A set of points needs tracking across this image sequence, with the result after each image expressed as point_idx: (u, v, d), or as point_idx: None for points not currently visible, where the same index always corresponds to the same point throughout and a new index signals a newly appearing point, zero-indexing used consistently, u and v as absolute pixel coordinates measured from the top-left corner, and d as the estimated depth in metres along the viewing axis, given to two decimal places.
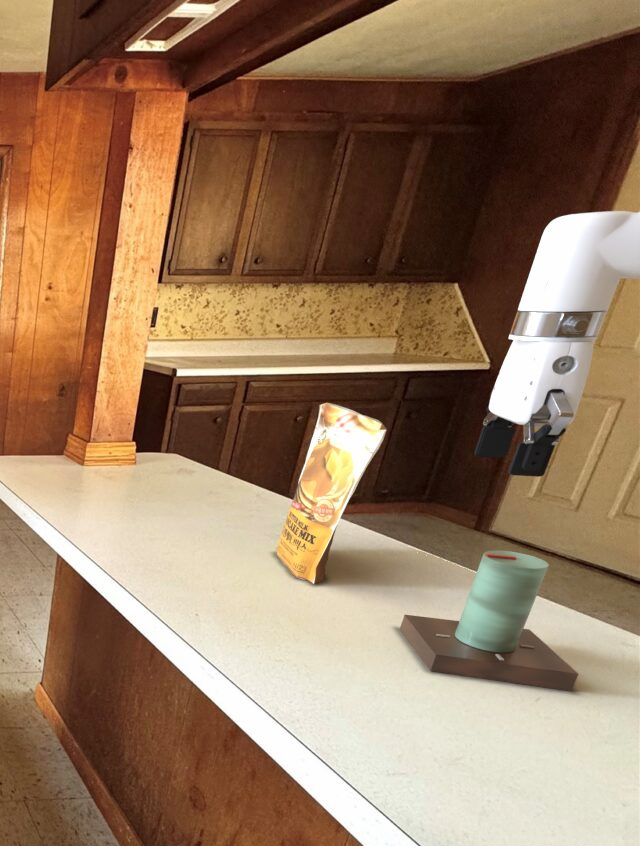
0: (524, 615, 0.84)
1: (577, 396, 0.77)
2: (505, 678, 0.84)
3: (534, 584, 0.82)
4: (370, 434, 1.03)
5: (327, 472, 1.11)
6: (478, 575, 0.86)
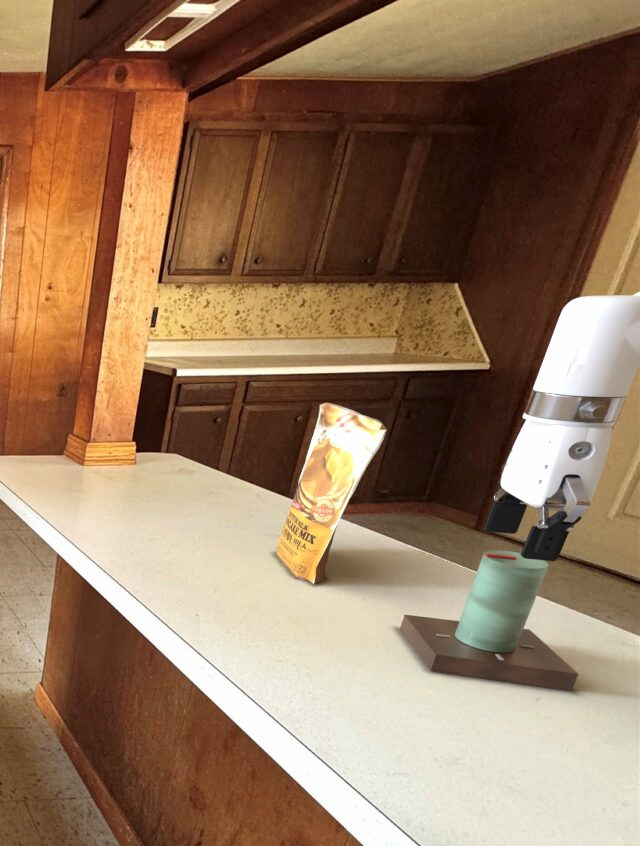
0: (524, 615, 0.84)
1: (593, 482, 0.75)
2: (505, 678, 0.84)
3: (534, 584, 0.82)
4: (370, 434, 1.03)
5: (327, 472, 1.11)
6: (478, 575, 0.86)
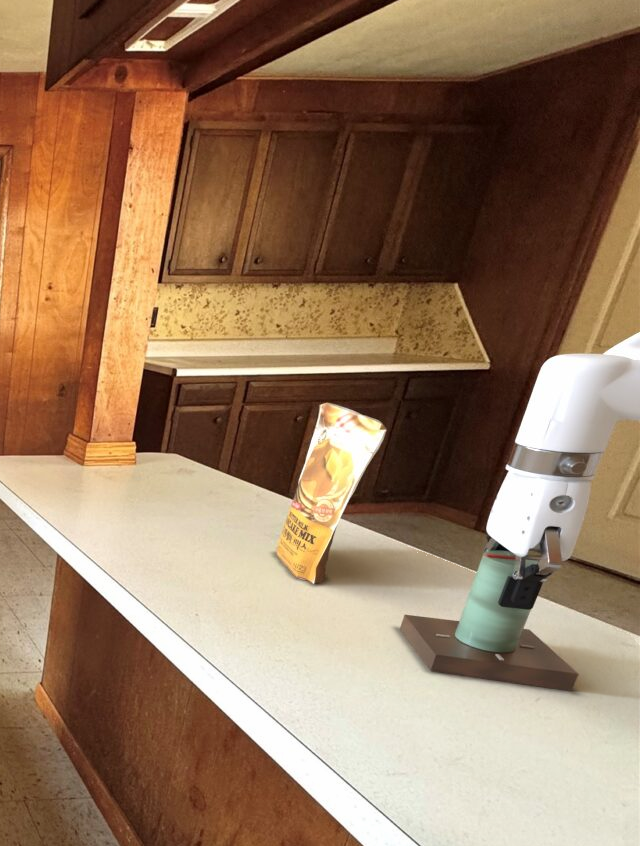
0: (524, 615, 0.84)
1: (574, 534, 0.77)
2: (505, 678, 0.84)
3: None
4: (370, 434, 1.03)
5: (327, 472, 1.11)
6: (478, 575, 0.86)
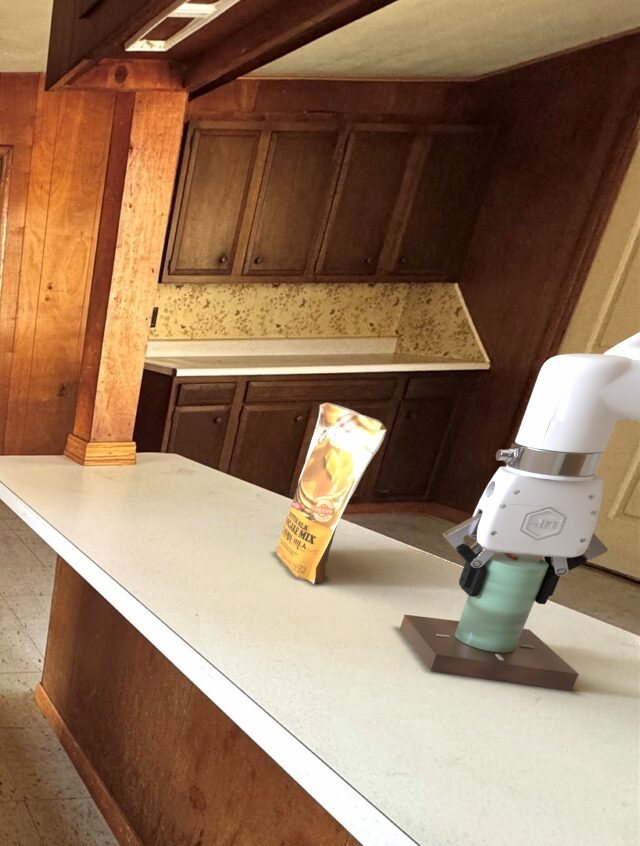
0: (480, 608, 0.86)
1: (486, 520, 0.82)
2: (505, 678, 0.84)
3: (487, 576, 0.85)
4: (370, 434, 1.03)
5: (327, 472, 1.11)
6: None
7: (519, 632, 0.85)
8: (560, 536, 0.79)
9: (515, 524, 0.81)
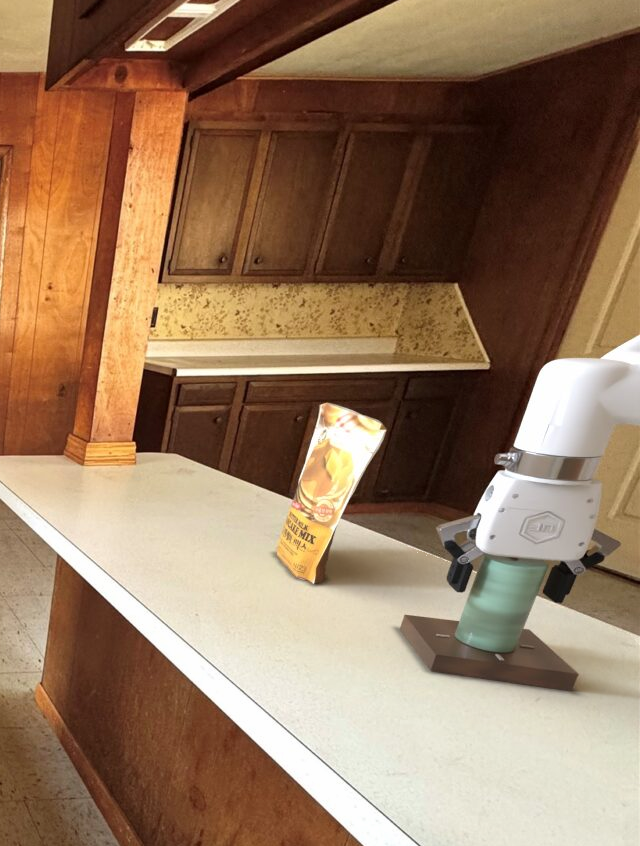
0: (479, 608, 0.86)
1: (485, 524, 0.82)
2: (505, 678, 0.84)
3: (487, 576, 0.85)
4: (370, 434, 1.03)
5: (327, 472, 1.11)
6: None
7: (519, 632, 0.85)
8: (559, 540, 0.79)
9: (514, 528, 0.81)
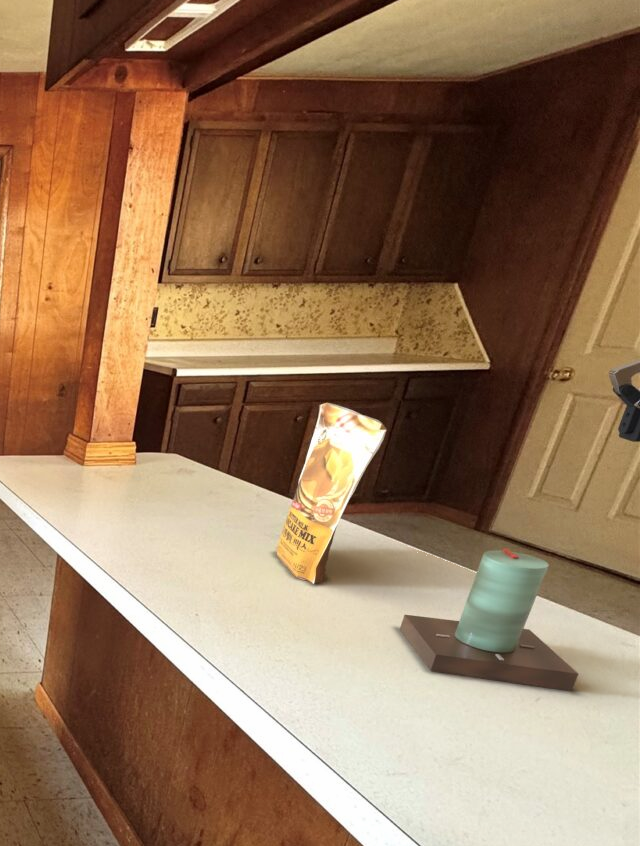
0: (479, 608, 0.86)
1: None
2: (505, 678, 0.84)
3: (487, 576, 0.85)
4: (370, 434, 1.03)
5: (327, 472, 1.11)
6: None
7: (519, 632, 0.85)
8: None
9: None
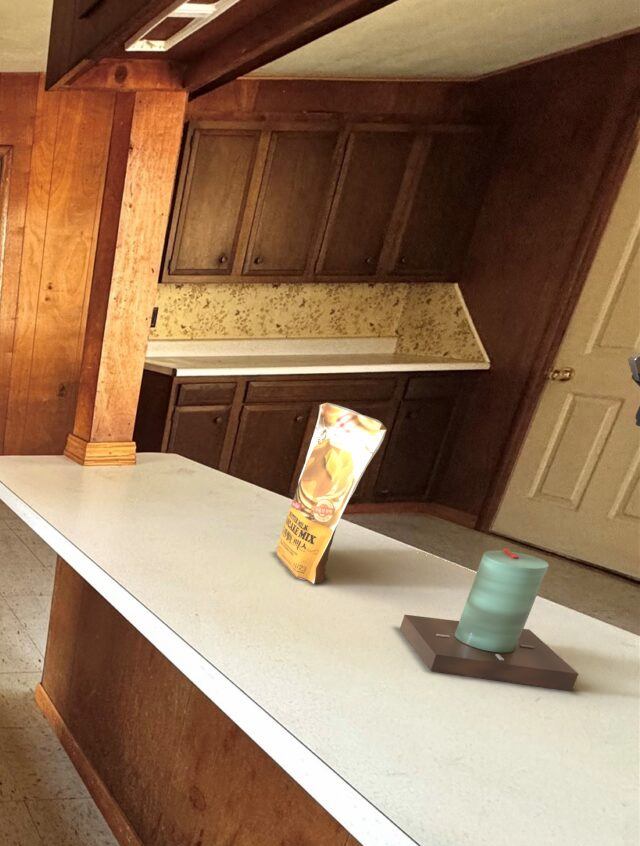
0: (479, 608, 0.86)
1: None
2: (505, 678, 0.84)
3: (487, 576, 0.85)
4: (370, 434, 1.03)
5: (327, 472, 1.11)
6: None
7: (519, 632, 0.85)
8: None
9: None
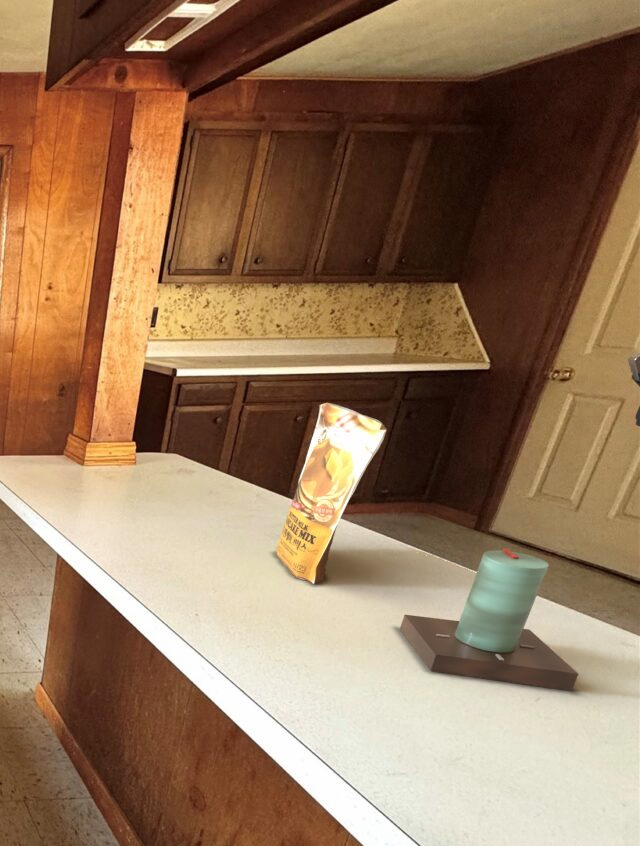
0: (479, 608, 0.86)
1: None
2: (505, 678, 0.84)
3: (487, 576, 0.85)
4: (370, 434, 1.03)
5: (327, 472, 1.11)
6: None
7: (519, 632, 0.85)
8: None
9: None
